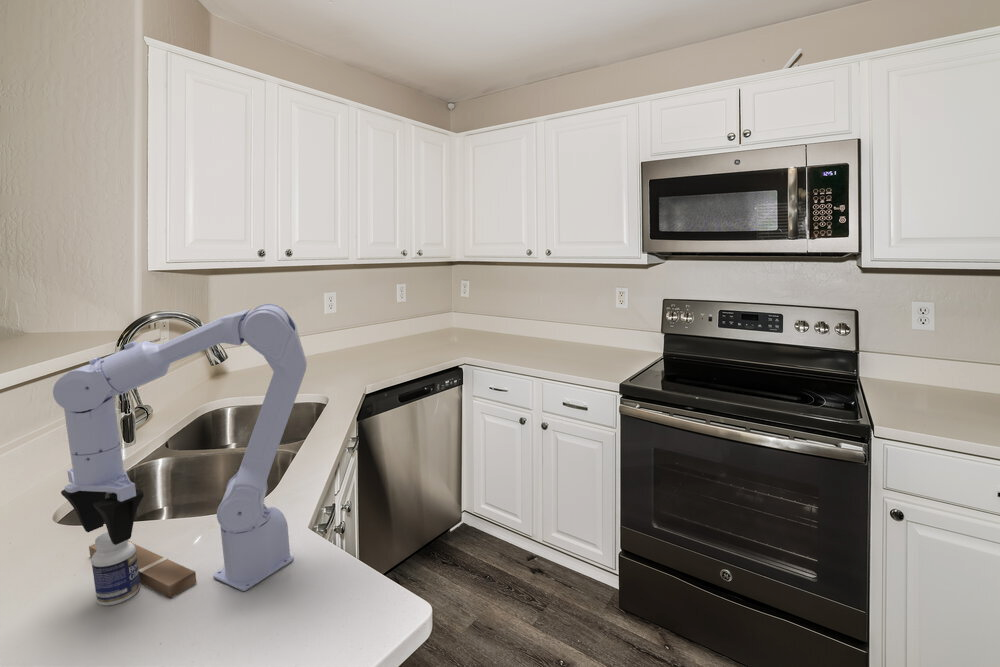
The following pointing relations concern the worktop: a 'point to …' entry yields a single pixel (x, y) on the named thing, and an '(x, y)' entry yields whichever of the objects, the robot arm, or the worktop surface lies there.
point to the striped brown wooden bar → (160, 572)
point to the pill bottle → (114, 570)
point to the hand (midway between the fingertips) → (108, 534)
